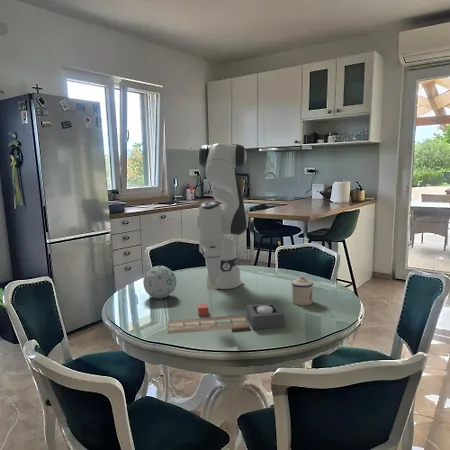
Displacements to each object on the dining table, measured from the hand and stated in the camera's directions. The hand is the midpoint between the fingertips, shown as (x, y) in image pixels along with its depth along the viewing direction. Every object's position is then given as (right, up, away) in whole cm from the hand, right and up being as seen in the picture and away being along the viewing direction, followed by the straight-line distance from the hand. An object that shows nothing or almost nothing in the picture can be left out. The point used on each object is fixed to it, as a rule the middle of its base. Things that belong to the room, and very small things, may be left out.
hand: (212, 283), depth 142 cm
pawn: (0, -2, 0) cm, 2 cm away
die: (-4, -15, +13) cm, 20 cm away
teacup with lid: (+38, -12, +26) cm, 48 cm away
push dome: (+20, -13, +4) cm, 24 cm away
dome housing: (+20, -16, +5) cm, 26 cm away
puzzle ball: (-25, -12, +36) cm, 46 cm away
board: (-2, -17, +2) cm, 17 cm away
